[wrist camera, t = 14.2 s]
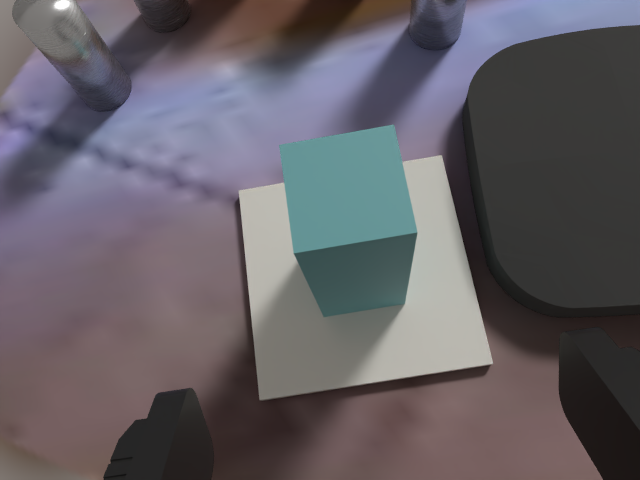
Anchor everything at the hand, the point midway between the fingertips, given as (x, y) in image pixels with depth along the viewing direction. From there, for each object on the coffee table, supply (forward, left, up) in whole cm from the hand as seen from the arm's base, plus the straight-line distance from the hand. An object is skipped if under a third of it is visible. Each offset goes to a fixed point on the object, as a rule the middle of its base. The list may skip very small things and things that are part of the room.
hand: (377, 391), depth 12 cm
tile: (0, -7, -15) cm, 16 cm away
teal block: (0, -7, -14) cm, 16 cm away
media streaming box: (-14, -10, -15) cm, 23 cm away
